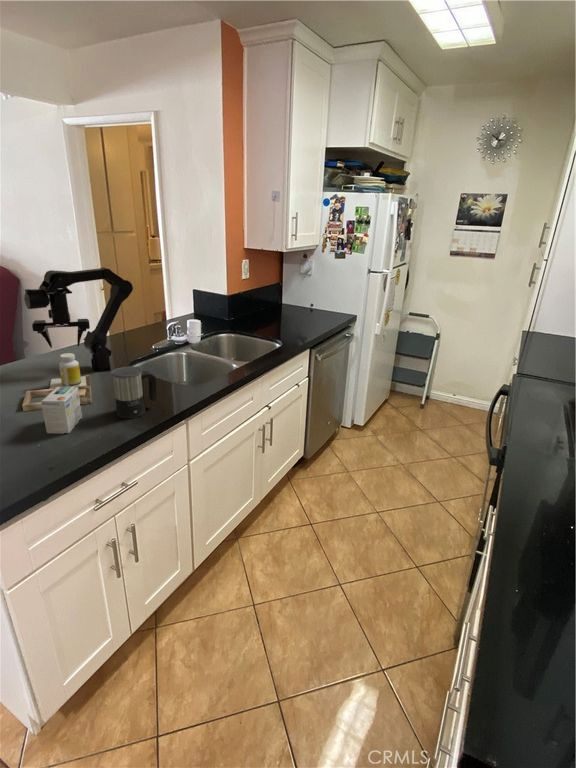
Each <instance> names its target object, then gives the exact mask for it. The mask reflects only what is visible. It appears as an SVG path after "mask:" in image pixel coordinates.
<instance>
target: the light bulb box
mask: <svg viewBox="0 0 576 768" xmlns="http://www.w3.org/2000/svg"><path fill="white" fill-rule="evenodd" d="M40 402H41V404H42V409H41V410H42V415H43V421H44V425H45V430H46V433H47V434H64V433H69V434H70V433H71V431H72V430H73V429H74V428H75V427H76V426H77V424H78V423H79V422H80V421H81V420H80V419H82V418H83V415H82V407H81V405H80V399H79V391H78V387H56V388H55V389H54V390H53V391H52V392H51V393H50V394H49V395H48V396H44V398H42V400H41V401H40ZM79 420H80V421H79ZM75 425H76V426H75Z"/></svg>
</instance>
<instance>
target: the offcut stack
mask: <svg viewBox="0 0 576 768" xmlns="http://www.w3.org/2000/svg"><path fill="white" fill-rule="evenodd" d="M78 391H79V398H84V397H87V395H86V389H79V390H78Z"/></svg>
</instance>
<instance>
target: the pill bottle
mask: <svg viewBox="0 0 576 768" xmlns="http://www.w3.org/2000/svg"><path fill="white" fill-rule="evenodd" d="M59 357H60V362H59V363H58V369H59V374H60V378H61V382H62V385H63V386H64V387H76V386H79V385H80V384H81V370H80V369H81V368H80V364H79V363H80V362H79V361H78V360H75V359H76V355H75V353H72V352H70V353H69V352H67V353H62V354H60V355H59Z"/></svg>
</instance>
